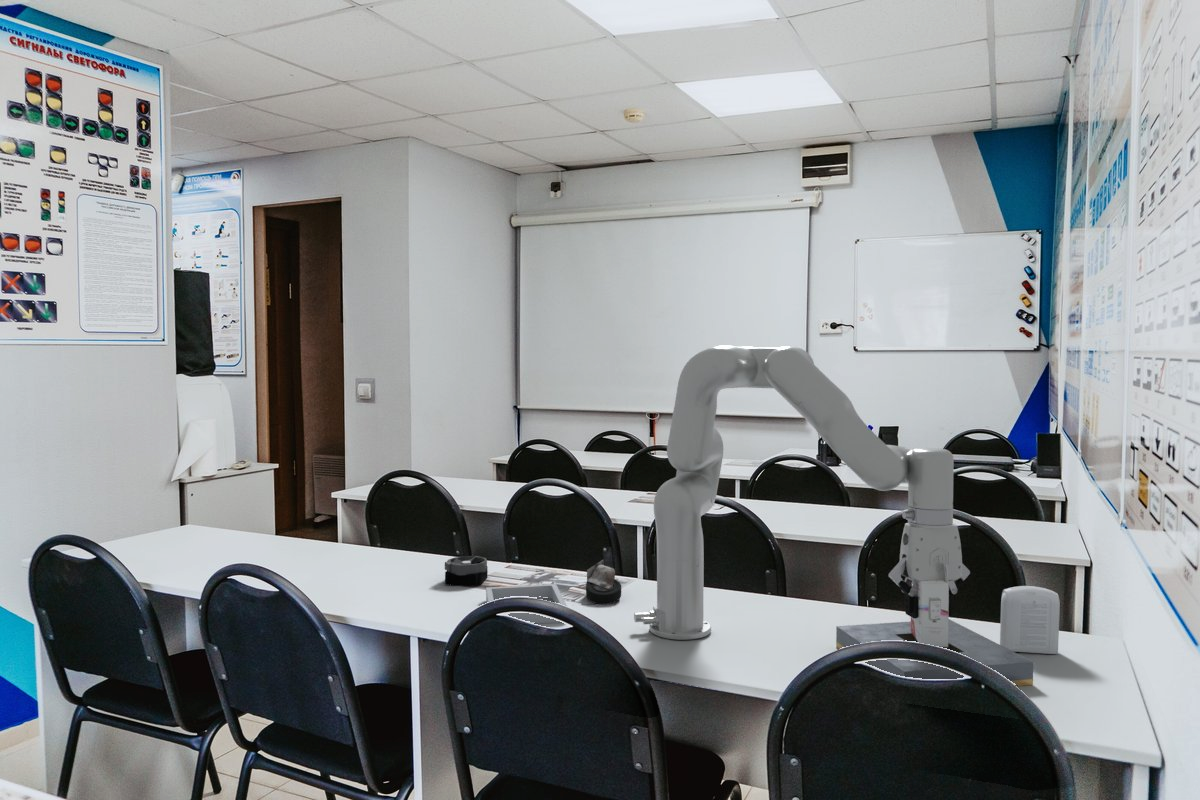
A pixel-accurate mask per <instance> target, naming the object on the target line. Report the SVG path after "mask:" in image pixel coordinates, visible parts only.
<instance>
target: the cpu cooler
mask: <svg viewBox="0 0 1200 800" xmlns="http://www.w3.org/2000/svg"><path fill="white" fill-rule="evenodd" d="M444 570H445V572H444V585H445V586H451V587H457V586H459V587H477V586H482V585H483V584H484V582H486V580H487V579H488V574H489V573H488V560H487V558H486V557H483V556H478V555H465V556H455V557H452V558H450V559H447V561H445V562H444Z"/></svg>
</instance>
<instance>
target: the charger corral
mask: <svg viewBox="0 0 1200 800" xmlns="http://www.w3.org/2000/svg"><path fill="white" fill-rule="evenodd" d="M485 596H486V597H485V601H486V603H487V602H490V601H493V600H495V599H499V598H504V597H510V596H529V597H537V598H543V597H548V598H547V599H551V600H552V599H553V600H552V602H553V601H554V602H556V603H560V604H562V605H565V606H567V607H568V605H567V603H566V601H565V599H564V597H563V595H562V593H561V591H560V589H559V587H558V584H557V583H549V584H548V583H547V584H546V583H545V584H530V585H529V584H528V585H509V586H494V587H493V586H492V587H490V586H489V587H485ZM539 596H541V597H539ZM545 600H546V598H545ZM554 602H553V603H554ZM508 615H509V616H512V617H516V618H518V619H522V620H525V621H530V622H535V623H538V624H551V623H553V624H554V623H559V622H558V621H556V620H554V619H550V618H546V617H543V616H540V615H536V614H529V613H510V614H508Z"/></svg>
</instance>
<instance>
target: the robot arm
mask: <svg viewBox="0 0 1200 800" xmlns="http://www.w3.org/2000/svg"><path fill="white" fill-rule="evenodd" d="M738 388H746V389H747V388H748V389H750V388H751V389H752V388H753V389H774V390H776V392H778V394H779V395H780V396H782V398H783V399H784V400H785V401H786V402H787V403H789V405H791V406H792V407H793V408H794V409H795V410H796V411H797V412H798V413H799V415H801V416H802V418H803V419H805V420H806V421H807V422H808V423H809V425H811V427H813V429H814V430H815V431H816V432H817V434H818V435H819V436H820V438H822V440H823V441H824V442H825V443H826V444H827V445H828V447H830V449H831V450H832V451H833V452H834V453H835V454H836V456H837V457H838V458H839V459H840V460H841V461H842V462H843V463H844V464H845V465H846V466H847V467H848V468H849V469H850V470H851V471H853V473H854V474H855V475H856V476H857V477H858V478H860V480H862V481H863V482H864V484H866V485H867V486H868V487H871V488H872V489H874V490H876V491H882V492H888V491H892V490H894V489H895V488H898V487H899V486H900V485H901V484H907V485H908V491H907V493H908V495H907V497H908V498H907V501H908V502H907V504H908V505H907V509H906V510H905V511H902V512H901V515H902V518H903V519H905V520H907V522H906V523H904V527H903V532H902V534H901V535H902V536H901V543H900V550H899V552H900V553H899V562H898V563H897V564H896V565H895V566H894V567H893V568H892V569H891V570H890V572H889V573H888V578H890V580H892V582H894V584H895V586H897V587H898V588H899V589H900V590H901V592H902V593H904V600H903V601H904V609H903V610H904V612H905V615H906V616H908V617H910V618H911V617H912V618H918V608H919V605H918V597H917V596H916V592H917V589H918V582H920V581H932V580H944V581H945V571H944V563H945V564H946V565H947V570H948V582H949V617H953V615H954V606H955V595H956V594H957V593H958V589H959V588H960V587H961V585H962V584H963V583H964V581H965V580H966V579H967V578H968V577H969V575H970V574H971V571H970V569H969V568H968V567H967V566H966V565H965V564H964V563H963V555H962V554H963V553H962V543H961V538H960V532H959V527H958V525H957V524H956V523H953V522H954V464H955V463H954V462H955V461H954V456H953V453H952V452H951V451H950V450H948V449H945V448H939V447H918V448H914V447H913V448H911V447H905V446H899V445H894V444H886V443H885V442H884V441H883V440H882V439H881V438H880V437H878V436H877V435H876V434H875V433H874V431H872V430H871V429H870V427H869V426H867V424H866V423H865V422H864V421H863V419H862V418H861V417H860V415H859V414H858V413H857V411H856V409H855V407H854V404H853V403H852V401H851V399H850V398H849V397H848V395H847V394H846V393H844V391H843V390H841V388H839V387H838V386H837V385H836V384H835V383H834V382H833V381H831V379H829V377H828V376H826V375H825V374H824V373H823V372H822V371H821V370H820V368H819V367H817V365H815V363H814V359H813V357H812V356H811V354H810V353H808V352H807V351H806V350H805V349H803V348H800V347H797V346H789V345H788V346H787V345H785V346H784V345H783V346H780V347H762V346H761V347H753V346H735V345H718V346H713V347H710V348H709V347H708V348H706V349H703V350H701V351H700V352H698V353H696V354H695V355H693V356H692V357H691V358H690V359H689V360H688V361H687V362H686V363H685V364H684V366H683V368H682V370H681V373H680V375H679V378H678V381H677V387H676V395H675V401H674V407H673V411H672V417H671V422H670V429H669V435H668V441H667V445H666V454H667V455H666V456H667V460H668V462H669V464H670V465H671V467H673V468H674V469H675V470H676V474H675V477H673V478H670V479H669V480H666V481H664V483H662V485H660V486H659V488H658V489H657V491H656V493H655V495H654V499H653V514H654V515H653V516H654V520H655V531H656V605H653V606H652V610H649V611H648V612H634V614H633V619H634V620H633V621H634V623H642V624H643V625H649V631H650V633H652V634H653V635H655V636H657V637H659V638H664V639H670V640H677V641H684V640H685V641H687V640H688V641H689V640H697V639H701V638H704V637H706V636H708V635H710V634H711V632H712V625H711V624H710V623H709V622H708V621H707V620H705V619H704V591H705V590H704V586H705V585H704V568H705V567H704V565H705V563H704V562H705V561H704V548H705V547H704V534H703V527H702V519H701V518H702V516H703V515H705V514H707V513H708V512H709V511H710V510H711V509H712V508H713V506H714V504H715V501H716V497H717V493H718V487H719V482H720V477H721V476H720V475H721V470H722V463H723V457H724V441H723V438H722V436H721V434H720V432H719V430H717V428H715V419H716V414H717V409H718V395H719V393H720V392H721V390H724V389H738ZM902 576H903V577H905V578H904V580H903V578H902Z"/></svg>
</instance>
